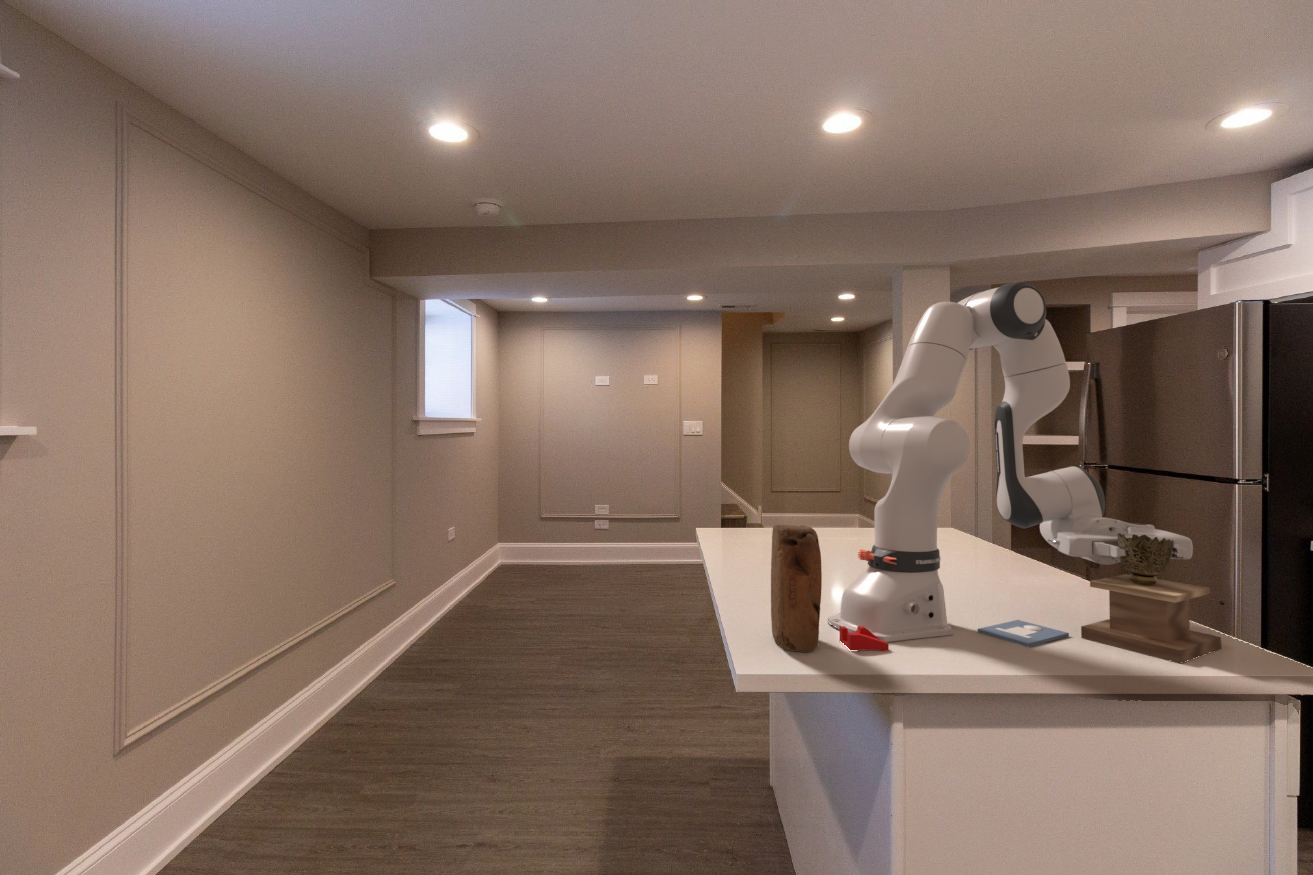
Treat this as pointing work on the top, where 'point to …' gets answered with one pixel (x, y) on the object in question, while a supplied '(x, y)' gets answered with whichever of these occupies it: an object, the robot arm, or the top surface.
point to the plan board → (1023, 633)
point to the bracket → (861, 639)
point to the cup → (1145, 557)
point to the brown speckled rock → (795, 587)
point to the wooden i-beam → (1151, 619)
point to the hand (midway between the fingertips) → (1151, 553)
